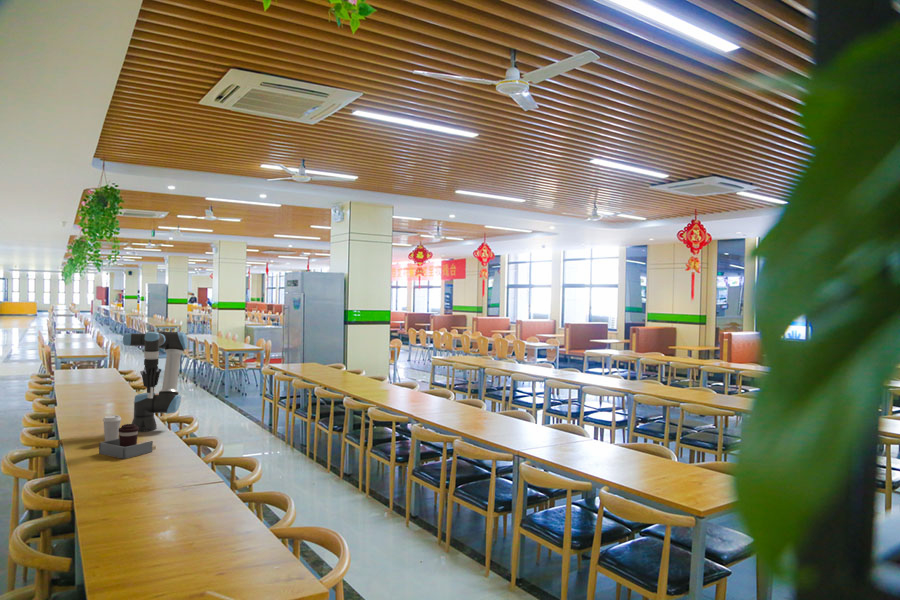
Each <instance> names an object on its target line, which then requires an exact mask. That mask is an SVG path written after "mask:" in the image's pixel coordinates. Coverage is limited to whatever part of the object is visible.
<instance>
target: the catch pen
mask: <svg viewBox="0 0 900 600" xmlns="http://www.w3.org/2000/svg"><path fill="white" fill-rule="evenodd" d="M140 443H141V444H138V443H137V444H136V445H132V446H128V447H122V446H120V439H119V438H118V439H114V440H109V441H105V440H104V441H101V442H99V449H98V453H99V455H103V456H104V455H105V456H107V455H108V457H112V456H113V458H116V457H117V459H121V458H122V460H125V459H126V458H127V459H129V458H133V457H138V456H141V455H146V454H149V453H153V450H152V446H153V443H154V442H153V440H148V441H145V442H140Z"/></svg>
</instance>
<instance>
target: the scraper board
mask: <svg viewBox="0 0 900 600" xmlns="http://www.w3.org/2000/svg"><path fill="white" fill-rule="evenodd" d="M141 443H142V442H137V444H141ZM155 450H156V445H153V446H152V451H155Z"/></svg>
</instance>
